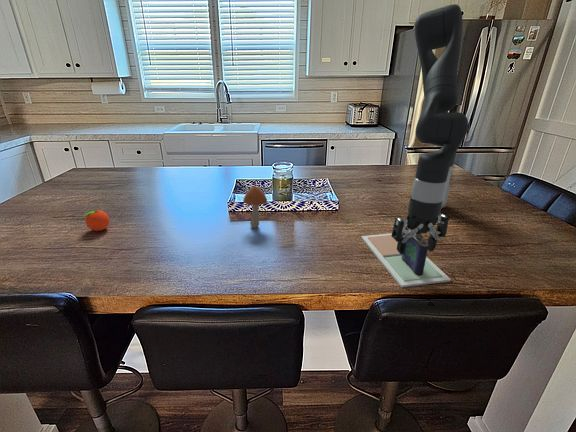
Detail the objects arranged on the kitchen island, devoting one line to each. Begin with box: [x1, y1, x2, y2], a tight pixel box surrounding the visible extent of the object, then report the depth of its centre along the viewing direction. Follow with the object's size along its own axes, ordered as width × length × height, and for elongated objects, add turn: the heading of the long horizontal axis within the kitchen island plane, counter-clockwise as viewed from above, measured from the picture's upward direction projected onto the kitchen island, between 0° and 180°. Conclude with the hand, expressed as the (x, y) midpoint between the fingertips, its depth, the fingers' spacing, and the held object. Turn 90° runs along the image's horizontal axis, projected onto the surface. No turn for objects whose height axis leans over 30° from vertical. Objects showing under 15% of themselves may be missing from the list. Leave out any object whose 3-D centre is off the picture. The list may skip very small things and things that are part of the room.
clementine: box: [81, 209, 111, 232], centre depth 106 cm, size 8×7×7 cm
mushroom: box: [242, 185, 268, 229], centre depth 107 cm, size 8×8×15 cm
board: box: [360, 232, 451, 288], centre depth 93 cm, size 14×26×1 cm, turn 11°
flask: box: [401, 229, 429, 276], centre depth 85 cm, size 9×3×11 cm, turn 9°
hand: (415, 251), depth 86 cm, fingers open, 8 cm apart
